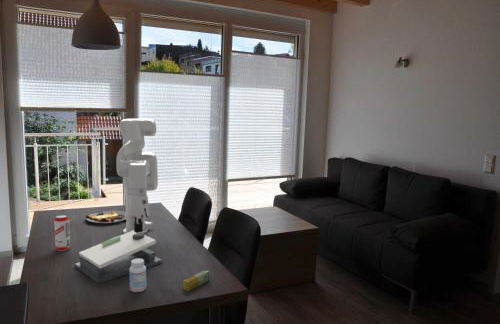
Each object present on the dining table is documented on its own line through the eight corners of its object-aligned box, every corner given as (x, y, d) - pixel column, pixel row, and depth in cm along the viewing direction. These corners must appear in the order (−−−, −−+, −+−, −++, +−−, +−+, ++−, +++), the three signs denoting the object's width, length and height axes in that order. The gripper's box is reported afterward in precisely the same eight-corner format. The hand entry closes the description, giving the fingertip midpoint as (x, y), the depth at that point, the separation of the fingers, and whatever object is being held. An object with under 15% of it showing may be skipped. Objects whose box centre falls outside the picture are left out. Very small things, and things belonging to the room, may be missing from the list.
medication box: (204, 279, 164) (204, 269, 163) (209, 280, 162) (209, 271, 162) (182, 289, 154) (182, 279, 154) (187, 291, 153) (187, 281, 152)
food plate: (97, 228, 221) (97, 222, 221) (78, 219, 237) (78, 213, 236) (137, 220, 240) (137, 214, 239) (117, 212, 255) (117, 207, 255)
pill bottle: (131, 285, 156) (130, 257, 154) (147, 285, 157) (147, 257, 155) (128, 292, 150) (127, 264, 148) (144, 292, 151) (144, 263, 149)
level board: (134, 233, 188) (133, 226, 188) (156, 243, 176) (155, 236, 175) (79, 255, 171) (78, 248, 170) (99, 268, 158) (98, 261, 158)
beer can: (64, 252, 187) (63, 218, 184) (52, 250, 188) (50, 217, 186) (73, 247, 193) (71, 214, 191) (61, 246, 194) (59, 213, 192)
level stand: (136, 249, 192) (136, 240, 191) (161, 262, 178) (161, 252, 177) (75, 266, 171) (74, 256, 171) (98, 283, 157) (98, 271, 156)
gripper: (154, 192, 174) (155, 234, 177) (136, 187, 184) (137, 226, 187) (139, 195, 169) (140, 238, 172) (121, 189, 179) (122, 229, 182)
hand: (138, 231), depth 179 cm, fingers closed
